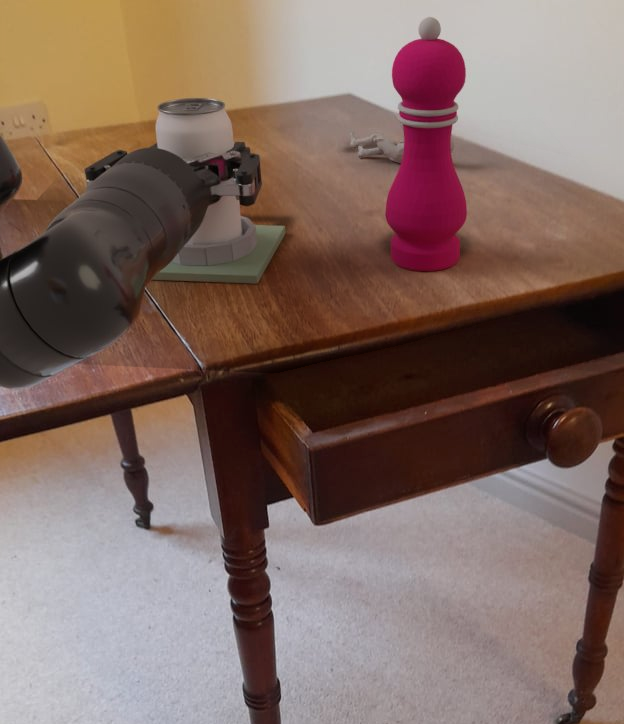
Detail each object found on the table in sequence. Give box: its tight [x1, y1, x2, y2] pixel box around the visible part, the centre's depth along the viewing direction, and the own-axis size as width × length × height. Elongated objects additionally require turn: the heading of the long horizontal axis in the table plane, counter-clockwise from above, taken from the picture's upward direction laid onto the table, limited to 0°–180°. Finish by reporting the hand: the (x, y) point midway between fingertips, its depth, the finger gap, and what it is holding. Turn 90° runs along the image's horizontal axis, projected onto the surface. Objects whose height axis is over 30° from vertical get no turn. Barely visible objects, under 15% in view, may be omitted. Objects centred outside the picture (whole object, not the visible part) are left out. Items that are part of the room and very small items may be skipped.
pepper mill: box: [384, 16, 468, 272], centre depth 74 cm, size 7×7×20 cm
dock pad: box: [151, 215, 286, 285], centre depth 80 cm, size 12×12×2 cm
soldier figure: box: [349, 112, 455, 164], centre depth 103 cm, size 8×5×12 cm
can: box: [154, 97, 242, 245], centre depth 76 cm, size 6×6×12 cm
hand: (204, 152), depth 78 cm, fingers closed on can, 6 cm apart
